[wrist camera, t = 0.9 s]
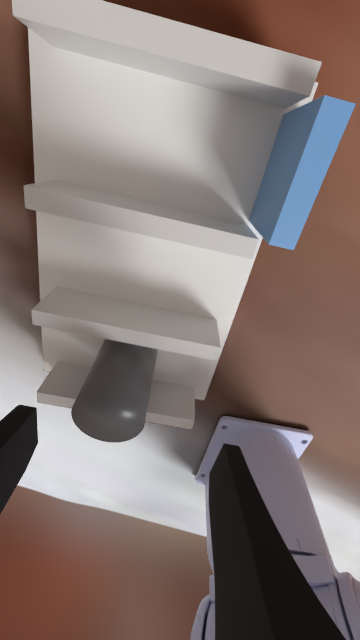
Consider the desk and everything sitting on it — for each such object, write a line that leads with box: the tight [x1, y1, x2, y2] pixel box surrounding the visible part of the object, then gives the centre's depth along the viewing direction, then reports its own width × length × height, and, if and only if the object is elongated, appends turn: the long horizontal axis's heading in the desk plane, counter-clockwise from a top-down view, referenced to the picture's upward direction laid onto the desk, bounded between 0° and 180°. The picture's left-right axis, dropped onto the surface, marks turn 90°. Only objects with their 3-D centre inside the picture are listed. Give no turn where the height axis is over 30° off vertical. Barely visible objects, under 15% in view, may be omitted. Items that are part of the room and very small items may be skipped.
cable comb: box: [12, 0, 355, 430], centre depth 15 cm, size 19×12×6 cm, turn 168°
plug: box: [71, 339, 158, 442], centre depth 16 cm, size 4×4×6 cm
